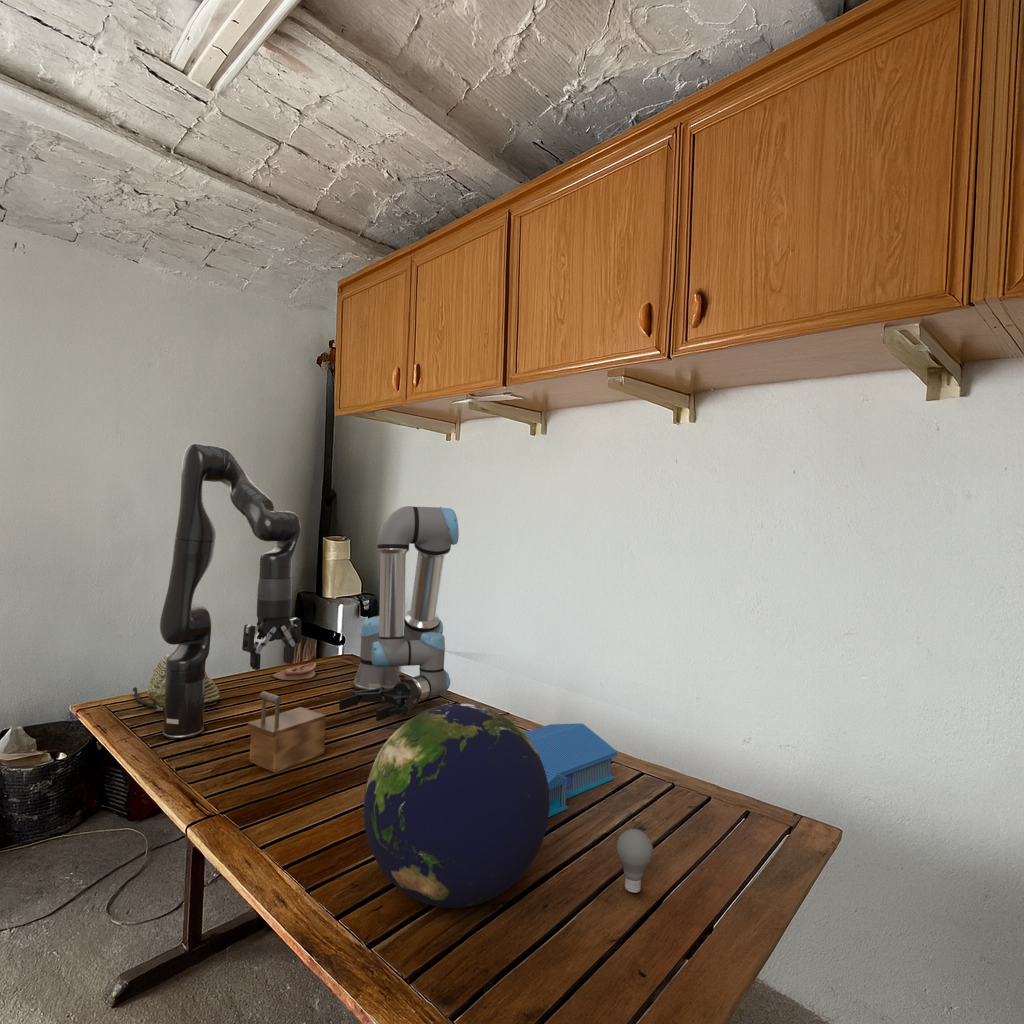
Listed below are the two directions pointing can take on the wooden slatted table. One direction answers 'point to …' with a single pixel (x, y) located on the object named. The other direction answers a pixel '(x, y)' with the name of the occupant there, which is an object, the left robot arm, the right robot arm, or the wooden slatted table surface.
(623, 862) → the light bulb
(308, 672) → the anatomical model
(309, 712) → the lid
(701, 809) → the wooden slatted table surface
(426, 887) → the globe
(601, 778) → the model building
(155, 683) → the fossil
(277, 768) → the chest
